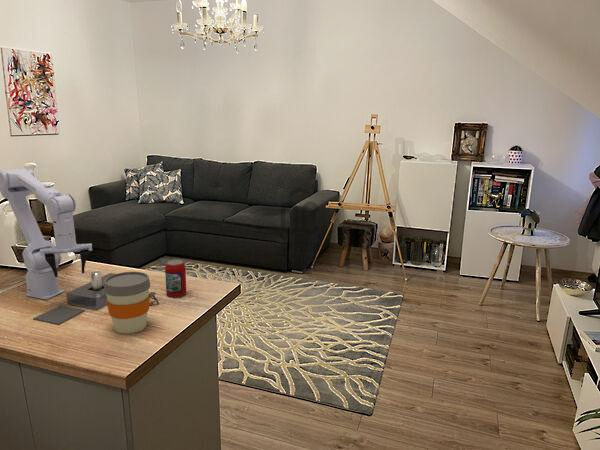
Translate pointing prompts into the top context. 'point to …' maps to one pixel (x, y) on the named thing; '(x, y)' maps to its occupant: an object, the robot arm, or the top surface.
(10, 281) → the top surface
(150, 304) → the wooden post with brackets
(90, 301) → the block
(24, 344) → the top surface
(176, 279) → the beverage can
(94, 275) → the steel pin
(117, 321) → the reusable coffee cup
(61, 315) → the rubber mat
